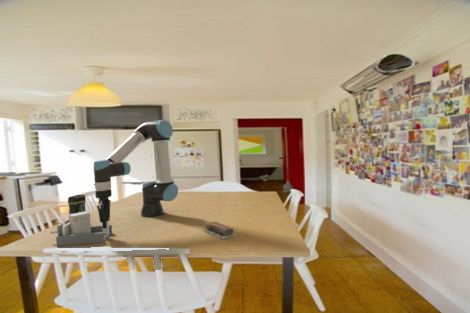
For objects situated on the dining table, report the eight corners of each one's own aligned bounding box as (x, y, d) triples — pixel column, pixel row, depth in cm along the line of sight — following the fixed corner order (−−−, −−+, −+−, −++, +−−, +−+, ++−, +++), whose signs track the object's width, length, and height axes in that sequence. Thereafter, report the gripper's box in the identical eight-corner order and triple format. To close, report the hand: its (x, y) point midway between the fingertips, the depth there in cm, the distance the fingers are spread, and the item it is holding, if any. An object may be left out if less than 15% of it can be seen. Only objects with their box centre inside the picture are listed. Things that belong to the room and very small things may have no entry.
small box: (87, 234, 140) (86, 210, 140) (91, 237, 136) (90, 212, 135) (70, 238, 134) (68, 214, 134) (74, 241, 130) (72, 216, 129)
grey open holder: (75, 235, 139) (74, 220, 139) (65, 242, 129) (64, 226, 128) (56, 236, 138) (55, 221, 137) (45, 243, 127) (44, 227, 127)
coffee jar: (77, 227, 157) (75, 196, 156) (66, 226, 159) (64, 196, 158) (89, 222, 166) (88, 193, 165) (79, 221, 168) (77, 193, 167)
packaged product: (202, 223, 142) (217, 219, 148) (203, 232, 142) (217, 228, 148) (222, 231, 128) (237, 226, 134) (222, 241, 128) (238, 236, 135)
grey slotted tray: (112, 233, 144) (111, 215, 143) (103, 242, 130) (102, 223, 129) (70, 236, 140) (69, 218, 140) (56, 246, 127) (55, 226, 126)
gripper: (100, 187, 141) (103, 230, 143) (90, 192, 128) (93, 238, 130) (114, 187, 142) (117, 229, 144) (106, 191, 129) (109, 237, 131)
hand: (106, 233), depth 137 cm, fingers closed
